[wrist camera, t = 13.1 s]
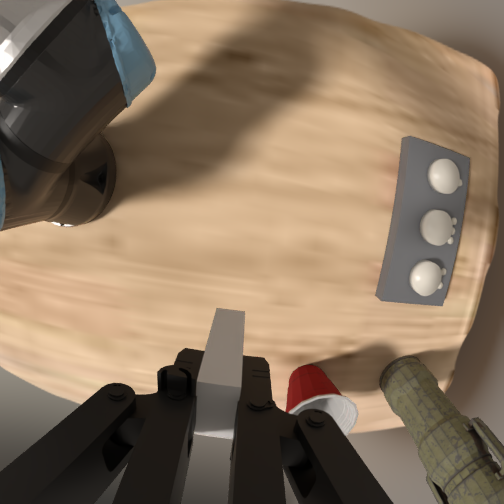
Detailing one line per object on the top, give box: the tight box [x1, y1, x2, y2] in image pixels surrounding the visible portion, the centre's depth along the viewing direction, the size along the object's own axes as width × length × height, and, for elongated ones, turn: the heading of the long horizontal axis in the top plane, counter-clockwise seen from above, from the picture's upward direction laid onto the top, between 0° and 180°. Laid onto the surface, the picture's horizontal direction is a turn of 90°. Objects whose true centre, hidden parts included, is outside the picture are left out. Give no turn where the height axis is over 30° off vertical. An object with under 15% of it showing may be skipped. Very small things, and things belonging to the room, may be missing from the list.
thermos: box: [380, 356, 504, 504], centre depth 30 cm, size 9×12×35 cm
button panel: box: [375, 136, 470, 306], centre depth 40 cm, size 12×24×3 cm, turn 172°
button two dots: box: [409, 260, 442, 296], centre depth 40 cm, size 5×5×4 cm
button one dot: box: [427, 159, 460, 194], centre depth 37 cm, size 5×5×4 cm
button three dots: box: [420, 209, 453, 246], centre depth 38 cm, size 5×5×4 cm
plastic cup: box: [286, 365, 358, 436], centre depth 40 cm, size 11×11×12 cm
